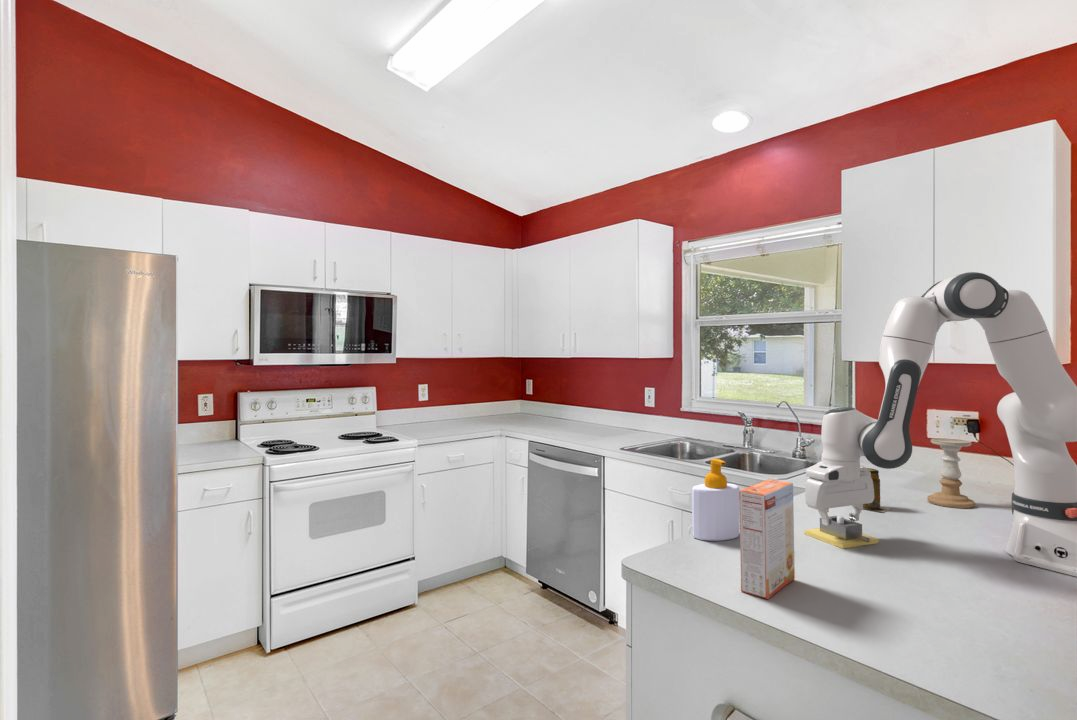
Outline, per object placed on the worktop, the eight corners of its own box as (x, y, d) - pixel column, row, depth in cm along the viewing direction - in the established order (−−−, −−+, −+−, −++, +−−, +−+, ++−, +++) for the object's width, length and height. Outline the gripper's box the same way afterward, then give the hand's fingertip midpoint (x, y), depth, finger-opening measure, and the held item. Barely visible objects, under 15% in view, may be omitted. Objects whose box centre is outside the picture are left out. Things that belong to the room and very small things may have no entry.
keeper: (878, 542, 140) (878, 521, 140) (842, 548, 136) (842, 526, 136) (838, 528, 151) (838, 508, 151) (804, 533, 147) (804, 513, 147)
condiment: (861, 503, 177) (861, 466, 177) (891, 509, 171) (891, 470, 171) (852, 507, 173) (852, 469, 173) (882, 513, 166) (882, 473, 166)
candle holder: (978, 510, 168) (978, 444, 168) (928, 505, 174) (928, 441, 174) (972, 501, 178) (972, 439, 178) (925, 496, 185) (925, 436, 185)
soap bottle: (702, 543, 141) (702, 464, 141) (685, 533, 149) (685, 458, 148) (747, 538, 144) (746, 461, 144) (728, 529, 152) (728, 455, 152)
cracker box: (767, 572, 122) (767, 477, 122) (795, 580, 117) (795, 482, 117) (738, 591, 112) (737, 488, 112) (767, 600, 108) (767, 494, 108)
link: (876, 542, 137) (876, 528, 137) (859, 545, 135) (859, 531, 135) (835, 528, 149) (835, 515, 149) (819, 531, 147) (819, 517, 147)
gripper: (859, 464, 150) (859, 515, 150) (800, 470, 143) (800, 523, 143) (880, 469, 144) (881, 521, 144) (820, 475, 137) (820, 530, 137)
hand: (840, 522), depth 144 cm, fingers open, 8 cm apart
